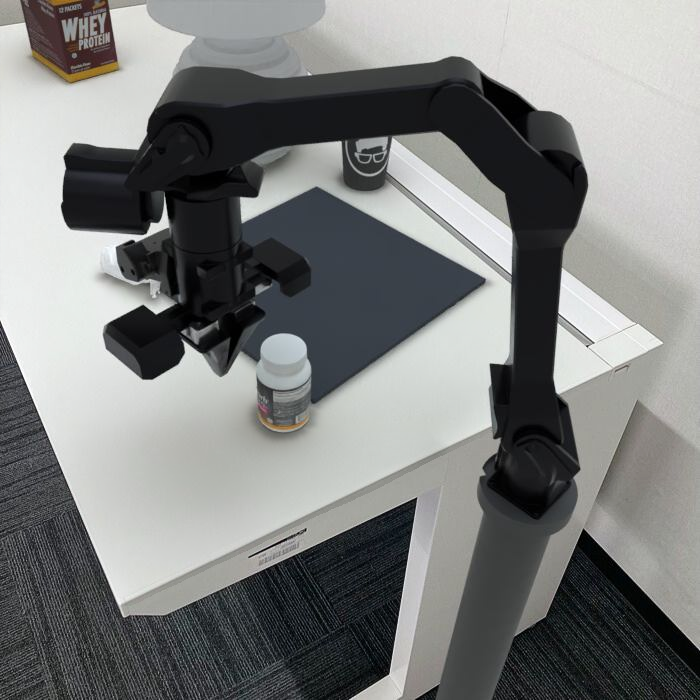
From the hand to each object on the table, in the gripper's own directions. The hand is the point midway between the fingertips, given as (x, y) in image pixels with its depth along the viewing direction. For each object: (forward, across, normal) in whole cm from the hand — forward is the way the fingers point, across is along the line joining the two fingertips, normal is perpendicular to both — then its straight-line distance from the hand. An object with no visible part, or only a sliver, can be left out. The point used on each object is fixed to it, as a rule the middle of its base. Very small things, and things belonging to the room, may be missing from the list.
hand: (220, 373), depth 74 cm
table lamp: (+12, -43, -47) cm, 65 cm away
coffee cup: (+12, -51, -28) cm, 59 cm away
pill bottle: (+12, -8, 0) cm, 14 cm away
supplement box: (+12, -42, -95) cm, 105 cm away
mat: (+12, -28, -15) cm, 33 cm away
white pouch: (+12, -10, -31) cm, 35 cm away
